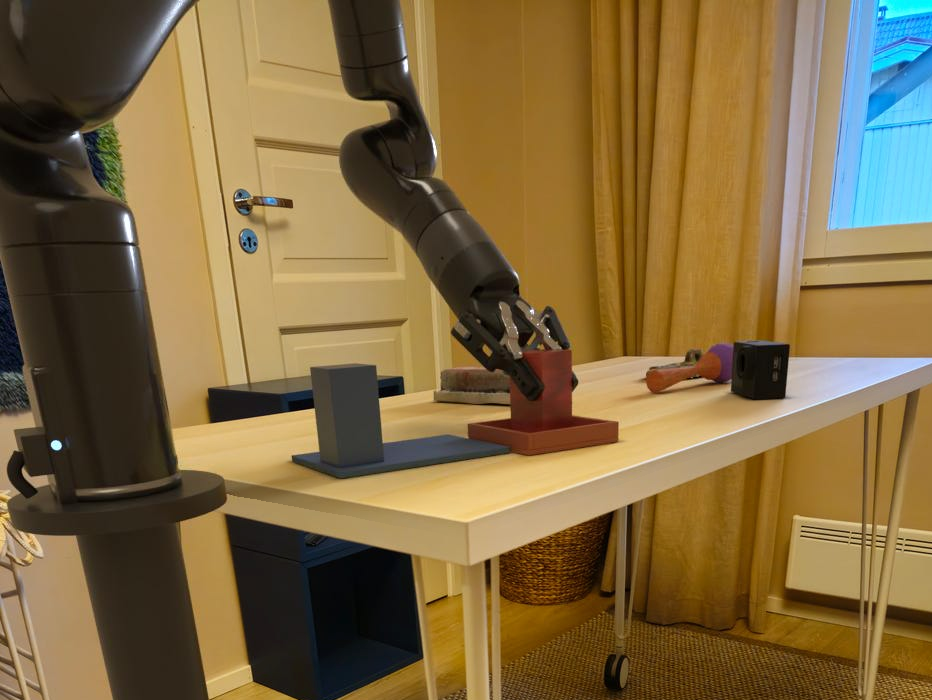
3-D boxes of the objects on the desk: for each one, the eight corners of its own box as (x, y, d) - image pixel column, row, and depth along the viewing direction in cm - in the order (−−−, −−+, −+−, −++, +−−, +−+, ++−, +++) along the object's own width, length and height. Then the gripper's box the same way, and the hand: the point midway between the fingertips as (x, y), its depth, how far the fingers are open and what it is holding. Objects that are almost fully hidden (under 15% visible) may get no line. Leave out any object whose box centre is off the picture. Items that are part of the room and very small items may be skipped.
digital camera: (721, 392, 123) (724, 341, 121) (759, 390, 124) (763, 339, 121) (744, 400, 114) (748, 345, 111) (785, 398, 114) (790, 343, 111)
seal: (676, 388, 141) (722, 378, 151) (680, 358, 139) (726, 350, 149) (630, 379, 147) (677, 371, 156) (633, 351, 144) (680, 344, 154)
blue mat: (340, 478, 75) (339, 471, 75) (291, 461, 85) (291, 455, 84) (510, 452, 84) (509, 446, 83) (448, 439, 93) (448, 434, 93)
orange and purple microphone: (635, 364, 127) (714, 344, 139) (642, 404, 129) (719, 381, 140) (667, 357, 123) (746, 337, 134) (674, 399, 124) (751, 375, 136)
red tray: (528, 455, 82) (528, 434, 81) (468, 442, 91) (467, 423, 90) (618, 441, 87) (618, 421, 86) (553, 430, 96) (552, 412, 95)
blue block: (339, 468, 77) (329, 369, 73) (320, 461, 80) (309, 366, 77) (384, 461, 79) (376, 365, 76) (364, 455, 82) (355, 363, 79)
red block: (543, 442, 86) (541, 353, 83) (511, 438, 89) (508, 352, 86) (572, 435, 89) (572, 349, 85) (540, 432, 92) (538, 349, 89)
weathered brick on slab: (428, 368, 126) (472, 363, 133) (430, 402, 128) (473, 395, 135) (526, 370, 115) (567, 364, 123) (526, 407, 117) (567, 399, 124)
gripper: (430, 238, 82) (525, 372, 78) (531, 239, 91) (621, 359, 87) (400, 299, 88) (487, 427, 84) (498, 294, 97) (581, 410, 93)
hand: (555, 392), depth 86 cm, fingers closed on red block, 4 cm apart
